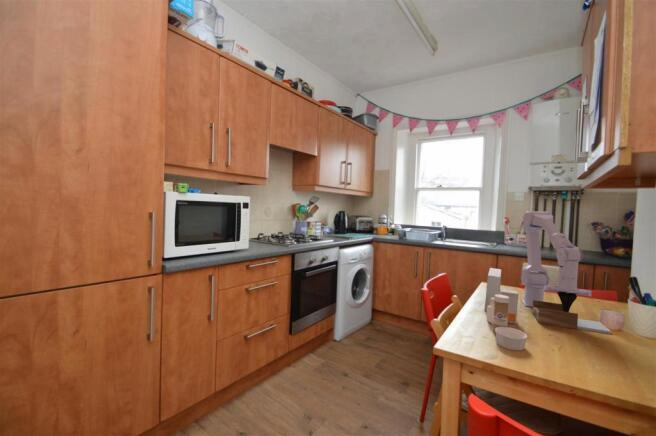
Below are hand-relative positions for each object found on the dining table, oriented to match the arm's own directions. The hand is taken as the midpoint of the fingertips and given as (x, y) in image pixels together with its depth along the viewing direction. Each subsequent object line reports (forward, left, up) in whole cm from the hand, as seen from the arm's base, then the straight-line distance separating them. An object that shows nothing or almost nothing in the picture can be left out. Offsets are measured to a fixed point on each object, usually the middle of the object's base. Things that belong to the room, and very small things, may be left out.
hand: (565, 311), depth 116 cm
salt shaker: (+15, -26, -5) cm, 30 cm away
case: (0, -4, -5) cm, 6 cm away
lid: (0, +7, -5) cm, 9 cm away
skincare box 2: (+10, -21, -5) cm, 24 cm away
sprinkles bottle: (+25, -25, -5) cm, 35 cm away
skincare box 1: (-9, -25, -5) cm, 27 cm away
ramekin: (+34, -23, -5) cm, 41 cm away
